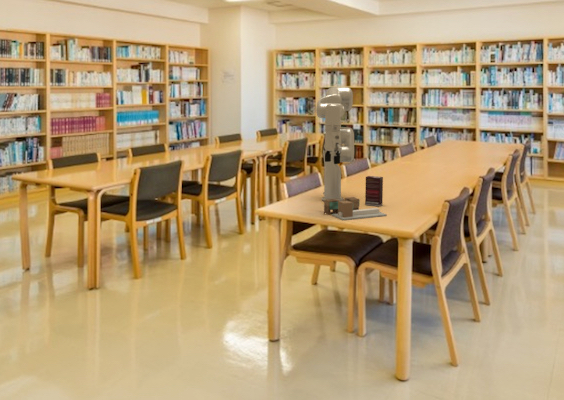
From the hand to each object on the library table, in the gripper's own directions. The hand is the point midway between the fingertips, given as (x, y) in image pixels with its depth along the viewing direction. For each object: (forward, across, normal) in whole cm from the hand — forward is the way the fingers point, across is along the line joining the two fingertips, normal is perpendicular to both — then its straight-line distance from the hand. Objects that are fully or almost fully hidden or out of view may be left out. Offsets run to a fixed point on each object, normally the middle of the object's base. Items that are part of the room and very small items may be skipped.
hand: (332, 162), depth 297 cm
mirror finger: (+26, 0, -12) cm, 29 cm away
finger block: (+26, 0, 0) cm, 26 cm away
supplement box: (+26, +9, -31) cm, 42 cm away
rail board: (+26, -11, -10) cm, 30 cm away
